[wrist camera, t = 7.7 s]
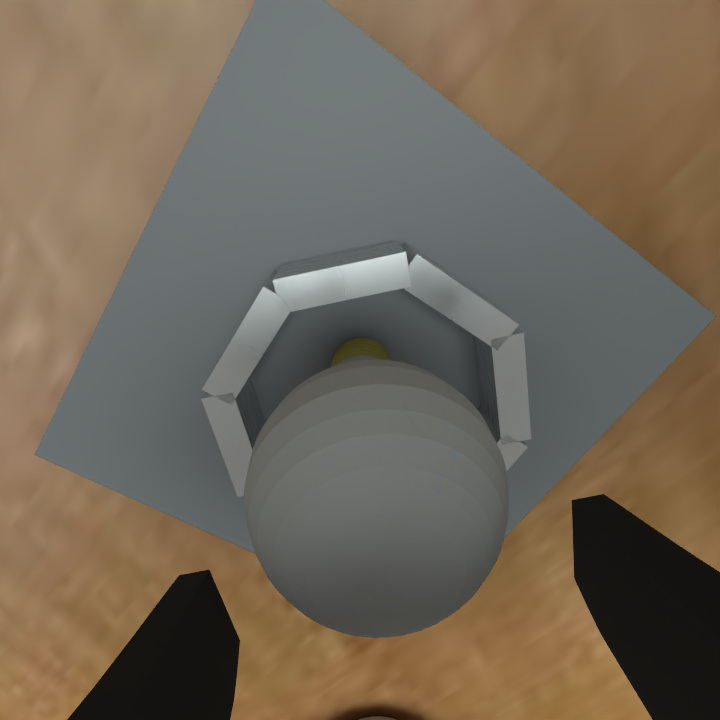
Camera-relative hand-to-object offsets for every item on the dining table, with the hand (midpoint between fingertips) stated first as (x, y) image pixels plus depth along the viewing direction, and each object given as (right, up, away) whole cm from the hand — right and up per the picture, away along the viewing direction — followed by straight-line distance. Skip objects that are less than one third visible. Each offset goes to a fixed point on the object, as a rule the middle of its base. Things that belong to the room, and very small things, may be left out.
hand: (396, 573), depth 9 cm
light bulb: (-1, +4, +8) cm, 9 cm away
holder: (-1, +3, +8) cm, 9 cm away
